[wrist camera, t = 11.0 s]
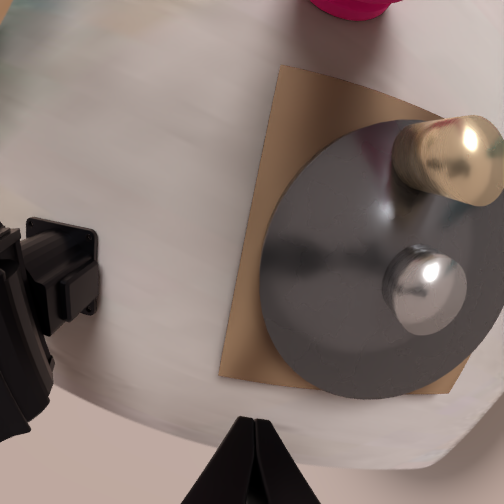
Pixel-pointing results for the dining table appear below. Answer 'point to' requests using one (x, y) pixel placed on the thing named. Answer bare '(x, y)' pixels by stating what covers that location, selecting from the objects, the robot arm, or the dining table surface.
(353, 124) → the wheel mount
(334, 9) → the pepper mill
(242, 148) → the dining table surface
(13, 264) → the robot arm
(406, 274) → the handwheel
